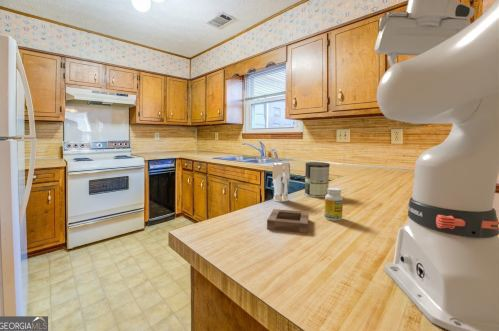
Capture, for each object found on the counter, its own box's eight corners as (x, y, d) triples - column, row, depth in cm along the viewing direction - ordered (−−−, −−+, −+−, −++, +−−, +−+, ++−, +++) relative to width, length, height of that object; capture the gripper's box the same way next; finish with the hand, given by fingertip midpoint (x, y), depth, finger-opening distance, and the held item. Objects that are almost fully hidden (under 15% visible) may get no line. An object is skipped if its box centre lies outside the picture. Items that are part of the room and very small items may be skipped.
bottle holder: (307, 232, 67) (307, 223, 66) (266, 228, 69) (267, 220, 69) (308, 219, 77) (308, 211, 77) (273, 216, 80) (273, 209, 80)
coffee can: (299, 194, 111) (300, 163, 110) (313, 191, 118) (314, 161, 116) (319, 198, 103) (320, 165, 102) (333, 195, 110) (334, 163, 108)
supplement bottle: (331, 214, 82) (332, 186, 81) (345, 219, 78) (347, 189, 77) (320, 217, 79) (321, 188, 78) (334, 222, 75) (336, 191, 74)
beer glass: (268, 199, 102) (269, 162, 101) (282, 197, 105) (283, 162, 104) (278, 203, 96) (279, 164, 94) (292, 201, 99) (293, 163, 98)
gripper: (386, 7, 57) (375, 71, 61) (483, 9, 55) (464, 75, 59) (376, 15, 63) (366, 73, 67) (463, 17, 61) (447, 77, 65)
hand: (413, 74), depth 63 cm, fingers open, 8 cm apart
